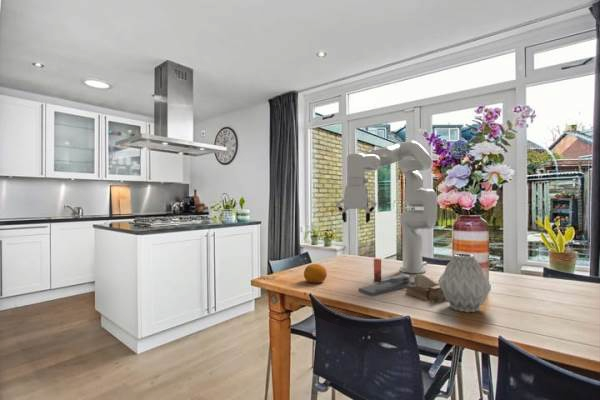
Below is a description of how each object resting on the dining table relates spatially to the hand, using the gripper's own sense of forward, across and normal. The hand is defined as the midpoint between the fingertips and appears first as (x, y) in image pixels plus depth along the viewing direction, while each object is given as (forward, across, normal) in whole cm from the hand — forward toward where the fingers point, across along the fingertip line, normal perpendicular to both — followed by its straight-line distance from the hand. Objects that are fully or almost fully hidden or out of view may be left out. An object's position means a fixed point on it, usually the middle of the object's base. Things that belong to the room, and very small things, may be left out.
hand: (356, 222), depth 136 cm
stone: (+28, -28, 0) cm, 40 cm away
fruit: (+28, +19, -3) cm, 35 cm away
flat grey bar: (+28, -13, -3) cm, 31 cm away
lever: (+26, -15, -5) cm, 30 cm away
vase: (+28, -40, +14) cm, 51 cm away
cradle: (+28, -30, +1) cm, 41 cm away
